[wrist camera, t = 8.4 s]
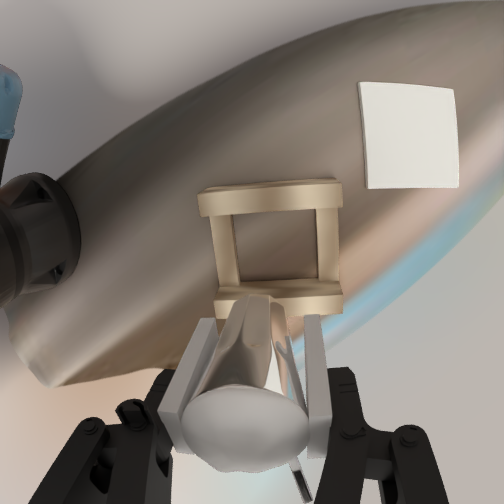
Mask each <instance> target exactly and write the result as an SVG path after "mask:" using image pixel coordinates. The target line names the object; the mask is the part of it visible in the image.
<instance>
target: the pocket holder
mask: <svg viewBox="0 0 504 504" xmlns="http://www.w3.org/2000/svg"><path fill="white" fill-rule="evenodd" d="M197 199H198V206H199V213H200V217H208V216H210V224H211V231H212V238H213V245H214V252H215V258H216V265H217V272H218V278H219V285H220V288H219V290H218V292H217V294H216V296H215V298H214V300H213V301H214V307H215V313H216V318H217V319H227V318H228V315H229V313H230V311H231V308H232V306H233V304H234V302H235V301H237V300H239V299H241V298H243V297H244V296H246V295H248V294H250V293H254V294H266V295H270V296H272V297H273V298H274V299H276V300H277V301H278V302H279V303H281V304H282V305H283V306H284V308H285V312H286V316H287V317H295V316H304V315H309V314H319V315H329V314H343V293H342V289H341V286H340V283H339V238H338V207H343V200H342V183H341V182H339V181H338V180H337V179H335V178H322V179H304V180H289V181H275V182H262V183H250V184H239V185H229V186H219V187H210V188H207V189H205V190H204V191H202V192H200V193H198V194H197ZM302 209H315V210H316V230H317V255H318V278H309V279H292V280H273V281H252V282H240V274H239V266H238V258H237V250H236V242H235V234H234V225H233V217H232V214H244V213H258V212H271V211H286V210H302Z"/></svg>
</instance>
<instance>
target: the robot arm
mask: <svg viewBox="0 0 504 504" xmlns="http://www.w3.org/2000/svg"><path fill="white" fill-rule="evenodd" d="M21 97H22V83H21V80H20V78H19V76H18V75H17V74H16V73H15V72H14V71H13V70H11V69H9V68H7V67H5V66H3V65H1V64H0V185H1V179H2V173H3V168H4V163H5V159H6V154H7V150H8V145H9V142H10V139H11V138H12V137H13V135H14V132H15V130H14V124H15V119H16V115H17V112H18V108H19V104H20V100H21ZM79 253H80V231H79V225H78V221H77V217H76V214H75V211H74V208H73V206H72V204H71V202H70V200H69V198H68V196H67V194H66V193H65V192H64V190H63V189H62V188H61V186H60V185H59V184H58V183H57V182H56V181H55V180H53V179H52V178H50V177H49V176H47V175H45V174H42V173H36V172H35V173H28V174H24V175H20V176H17V177H15V178H13V179H11V180H10V181H9V182H7V183H6V184H5V185H4V186H3V187H1V188H0V309H1V308H2V307H4V306H5V305H6V304H8V303H9V302H10V301H12V300H13V299H14V298H16V297H17V296H19V295H22V294H27V293H32V292H38V291H43V290H48V289H51V288H54V287H56V286H57V285H59V284H60V283H62V282H63V281H64V280H66V279H67V278H68V277H69V276H70V275H71V274H72V273H73V271H74V269H75V267H76V265H77V262H78V259H79ZM304 336H305V371H306V401H307V412H308V419H309V432H310V438H309V442H308V445H307V458H308V459H310V458H326V460H325V464H324V468H323V472H322V476H321V479H320V483H319V487H318V490H317V494H316V498H315V501H314V504H360V500H361V494H362V488H363V482H364V478H366V479H373V480H378V484H379V490H380V496H381V502H382V504H449V502H448V498H447V495H446V491H445V488H444V485H443V481H442V478H441V475H440V472H439V469H438V466H437V463H436V460H435V457H434V454H433V451H432V448H431V445H430V442H429V439H428V437H427V434H426V433H425V431H424V430H423V429H422V428H420V427H419V426H415V425H404V426H401V427H399V428H398V429H396V430H395V431H394V432H388V431H380V430H376V429H374V428H372V427H370V426H369V425H368V424H367V423H366V421H365V419H364V417H363V412H362V407H361V402H360V398H359V393H358V388H357V385H356V379H355V374H354V373H353V372H352V371H351V370H350V369H349V367H340V368H329V369H327V366H326V358H325V350H324V343H323V336H322V329H321V322H320V315H319V314H309V315H304ZM218 339H219V337H218V331H217V326H216V321H215V318H201V319H200V321H199V323H198V325H197V327H196V329H195V331H194V333H193V335H192V337H191V340H190V342H189V344H188V346H187V348H186V350H185V352H184V354H183V356H182V359H181V361H180V363H179V365H178V367H177V369H176V370H172V369H164V370H163V371H162V372H161V373H160V374H159V375H158V376H157V377H156V379H155V381H154V383H153V385H152V387H151V389H150V392H149V393H148V394H147V396H146V398H145V400H144V401H142V400H140V399H130V400H126V401H124V402H122V403H121V404H120V405H118V406H117V408H116V410H115V411H116V413H117V415H118V417H119V419H120V421H121V422H122V424H113V425H105V423H104V422H103V421H102V419H100V418H97V417H90V418H86V419H84V420H83V421H81V422H80V424H79V425H78V426H77V427H76V429H75V430H74V432H73V434H72V435H71V437H70V438H69V440H68V441H67V443H66V444H65V446H64V447H63V449H62V450H61V452H60V453H59V455H58V457H57V458H56V460H55V461H54V463H53V464H52V466H51V467H50V469H49V471H48V472H47V474H46V475H45V477H44V478H43V480H42V482H41V483H40V485H39V487H38V488H37V490H36V491H35V493H34V495H33V496H32V498H31V500H30V501H29V503H28V504H171V486H172V485H171V484H172V467H173V466H172V465H173V458H172V455H171V453H170V452H171V450H172V447H173V446H174V448H175V450H176V452H179V453H186V454H195V453H194V452H193V451H192V450H191V449H190V448H189V447H188V445H187V443H186V442H185V439H184V437H183V433H182V428H181V419H182V415H183V412H184V410H185V408H186V406H187V403H188V401H189V399H190V397H191V395H192V393H193V391H194V389H195V387H196V385H197V383H198V381H199V379H200V377H201V375H202V372H203V370H204V369H205V367H206V365H207V363H208V361H209V359H210V357H211V355H212V353H213V351H214V349H215V347H216V344H217V342H218Z"/></svg>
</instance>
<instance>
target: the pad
mask: <svg viewBox="0 0 504 504" xmlns="http://www.w3.org/2000/svg"><path fill="white" fill-rule="evenodd" d="M358 92H359V100H360V110H361V120H362V131H363V144H364V159H365V179H366V188H368V189H377V188H459V157H458V134H457V120H456V110H455V100H454V92H453V89H447V88H439V87H431V86H422V85H411V84H398V83H380V82H359V83H358Z"/></svg>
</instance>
